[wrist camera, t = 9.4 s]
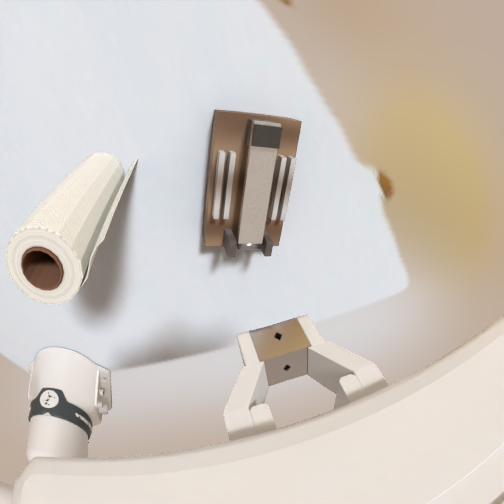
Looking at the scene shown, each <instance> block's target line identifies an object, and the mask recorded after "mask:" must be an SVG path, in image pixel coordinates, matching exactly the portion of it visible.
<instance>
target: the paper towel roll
mask: <svg viewBox="0 0 504 504" xmlns="http://www.w3.org/2000/svg"><path fill="white" fill-rule="evenodd" d="M137 160H138V158H137V159H136V160H135V161H134V162H133V164H132V165H131V167H130V169H129V171H128V173H127V175H126V177H125V179H124V169H123V167H122V164H121V162H120V161H119V160H118V159H117V158H116V157H115V156H114V155H112V154H109V153H107V152H97V153H95V154H92V155H90V156H88V157H87V158H86V159H85V160H84V161H83V162H82V163H81V164H80V165H78V166H77V167H76V168H75V169H74V170H73V171H72V172H71V173H70V174H69V175H68V176H67V177H66V178H65V179H64V180H63V181H62V182H61V183H60V184H59V185H58V186H57V187H56V188H55V189H54V190H53V191H52V192H51V193H50V194H49V195H48V196H47V197H46V198H45V199H44V200H43V201H42V202H41V203H40V204H39V206H38V207H37V208H36V209H35V210H34V211H33V212H32V213H31V214H30V215H29V217H28V218H27V219H26V220H25V221H24V222H23V224H22V225H21V226H20V227H19V228H18V229H17V231H16V232H15V233H14V235H13V236H12V238H11V239H10V241H9V243H8V244H7V249H6V260H5V261H6V264H7V268H8V271H9V275H10V277H11V278H12V280H13V281H14V283H15V284H16V286H17V287H18V288H19V289H20V290H21V291H22V292H23V293H25V294H26V295H27V296H28V297H30V298H31V299H34V300H36V301H39V302H41V303H44V304H57V305H59V304H61V303H64V302H67V301H70V300H71V299H72V298H73V297H74V296H75V294H76V293H77V292H78V291H79V290H80V288H81V287H82V285H83V284H84V282H85V281H86V280H87V278H88V276H89V273H90V270H91V267H92V264H93V261H94V258H95V255H96V252H97V250H98V247H99V244H100V243H101V242H102V241H103V240H104V238H105V236H106V233H107V230H108V228H109V225H110V222H111V220H112V217H113V215H114V212H115V210H116V207H117V205H118V202H119V200H120V198H121V195H122V193H123V191H124V188H125V186H126V184H127V182H128V179H129V177H130V175H131V173H132V170H133V168H134V166H135V164H136V162H137Z"/></svg>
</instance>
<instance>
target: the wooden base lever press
mask: <svg viewBox="0 0 504 504" xmlns="http://www.w3.org/2000/svg"><path fill="white" fill-rule="evenodd" d="M252 120H255V121H264V122H272V123H279V124H281V127H283V129H282V135H281V141H280V148H279V149H277V154H276V161H275V167H274V173H273V179H272V186H271V192H270V198H269V204H268V210H267V216H266V222H265V229H264V235H263V241H262V249H261V250H262V252H263V254H264V256H271V252H272V247H273V246H279V241H280V236H281V231H282V226H283V221H285V216H286V211H287V206H288V201H289V196H290V190H291V185H292V180H293V174H294V169H295V164H296V159H295V156H296V151H297V145H298V140H299V134H300V128H301V122H302V121H299V120H295V119H292V118H285V117H278V116H271V115H264V114H256V113H247V112H237V111H226V110H215V111H214V120H213V128H212V138H211V147H210V157H209V167H208V178H207V189H206V201H205V214H204V228H203V238H204V242H205V246H225V249H226V252H227V255H228V257H235V250H236V241H237V235H238V227H239V219H240V211H241V203H242V195H243V187H244V180H245V172H246V164H247V157H248V149H249V142H250V135H251V127H252Z"/></svg>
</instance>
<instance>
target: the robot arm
mask: <svg viewBox="0 0 504 504" xmlns="http://www.w3.org/2000/svg"><path fill="white" fill-rule="evenodd" d="M236 335H237V340H238V343H239V347H240V351H241V355H242V359H243V363H244V367H242V369H241V371H240V373H239V376H238V378H237V381H236V383H235V386H234V388H233V391H232V393H231V395H230V398H229V400H228V403H227V405H226V407H225V410H224V412H223V414H224V418H225V423H226V427H227V431H228V435H229V440H230V441H229V442H225V443H220V444H215V445H210V446H206V447H200V448H194V449H188V450H182V451H175V452H168V453H160V454H152V455H142V456H130V457H115V458H88V443H89V442H88V440H89V438H90V435H91V433H92V427H93V426H95V425H97V424H99V423H100V422H101V419H102V414H108V410H110V409H111V408H112V396H111V372H110V371H109V370H108V369H106V368H103V367H101V366H98V365H96V364H95V363H93V362H92V361H91V360H89V359H88V358H86V357H85V356H83V355H81V354H79V353H77V352H75V351H72V350H69V349H65V348H59V347H50V348H45V349H43V350H41V351H40V352H38V354H37V356H36V358H35V360H34V361H33V362H31V363H30V364H29V367H28V370H29V371H30V373H31V380H30V386H29V393H28V397H29V399H30V401H31V405H30V409H29V422H30V425H29V432H28V439H27V447H26V456H27V459H28V461H29V463H28V464H27V465H26V467H25V468H24V469H23V470H22V472H21V473H20V475H19V476H18V478H17V479H16V481H15V484H14V485H11V484H6V483H2V482H0V504H504V315H503V316H502V317H501V318H499V319H498V320H497V321H495V322H494V323H492V324H491V325H490V326H488V327H487V328H486V329H484V330H483V331H481V332H480V333H478V334H477V335H475V336H474V337H473V338H471V339H470V340H468V341H467V342H465V343H463V344H462V345H460V346H459V347H457V348H456V349H454V350H453V351H451V352H449V353H448V354H446V355H444V356H443V357H441V358H439V359H438V360H436V361H434V362H432V363H431V364H429V365H427V366H425V367H424V368H422V369H420V370H418V371H416V372H415V373H413V374H411V375H409V376H407V377H405V378H403V379H401V380H399V381H397V382H395V383H393V384H391V385H388V383H387V382H386V380H385V379H384V377H383V376H382V374H381V373H380V371H379V370H378V368H377V366H376V365H375V363H373V362H371V361H369V360H367V359H364V358H362V357H360V356H358V355H356V354H354V353H352V352H350V351H348V350H346V349H344V348H341V347H339V346H337V345H335V344H333V343H331V342H329V341H326V342H324V340H323V339H322V337H321V335H320V333H319V332H318V330H317V328H316V326H315V325H314V323H313V321H312V319H311V318H310V316H309V315H308V314H307V315H303V316H300V317H297V318H293V319H290V320H287V321H284V322H280V323H277V324H274V325H271V326H268V327H264V328H260V329H256V330H252V331H248V332H244V333H240V334H236ZM306 374H308V375H309V376H310V377H311V378H313V379H315V380H316V381H317V382H319V383H321V384H322V385H323V386H325V387H326V388H328V389H329V390H331V391H332V392H334V393H335V394H337V395H336V401H335V405H334V410H331V411H329V412H326V413H323V414H321V415H318V416H315V417H312V418H309V419H307V420H304V421H301V422H298V423H295V424H292V425H288V426H285V427H282V428H279V429H277V428H276V425H275V423H274V420H273V418H272V415H271V412H270V409H269V406H268V405H266V404H264V402H265V399H266V395H267V392H268V388H269V387H268V386H271V385H274V384H277V383H280V382H283V381H286V380H289V379H293V378H296V377H299V376H303V375H306Z"/></svg>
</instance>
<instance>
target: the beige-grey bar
mask: <svg viewBox="0 0 504 504" xmlns="http://www.w3.org/2000/svg"><path fill="white" fill-rule="evenodd" d="M282 129H283V127H281V124H279V123H272V122H264V121H255V120H252V127H251V135H250V142H249V149H248V157H247V164H246V172H245V180H244V187H243V195H242V203H241V211H240V219H239V227H238V235H237V241H236V249H237V250H261V249H262V241H263V235H264V229H265V222H266V216H267V210H268V204H269V198H270V192H271V186H272V179H273V173H274V167H275V161H276V154H277V149H279V148H280V141H281V135H282Z"/></svg>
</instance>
